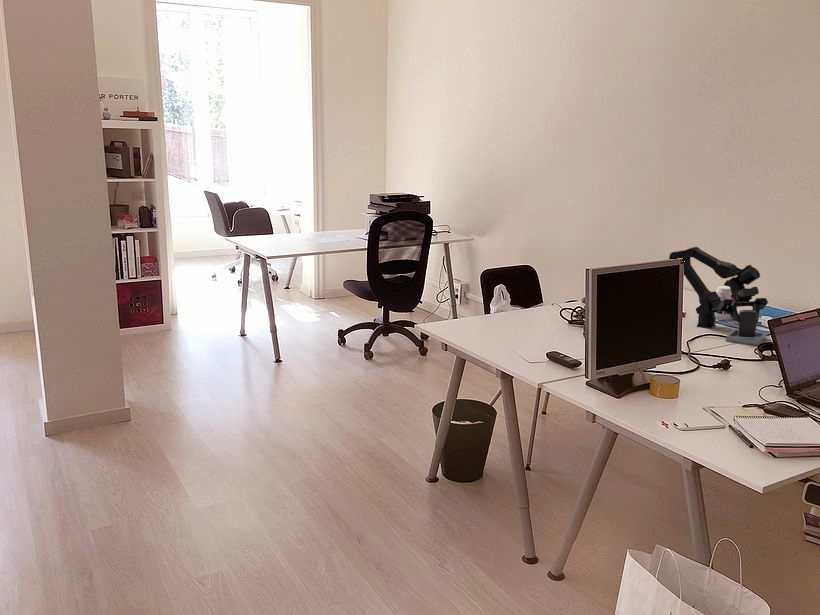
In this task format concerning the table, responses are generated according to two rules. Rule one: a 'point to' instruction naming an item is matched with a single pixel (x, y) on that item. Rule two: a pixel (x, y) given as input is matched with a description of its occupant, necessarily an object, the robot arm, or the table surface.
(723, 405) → the table surface
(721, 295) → the supplement can
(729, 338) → the tray
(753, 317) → the battery
